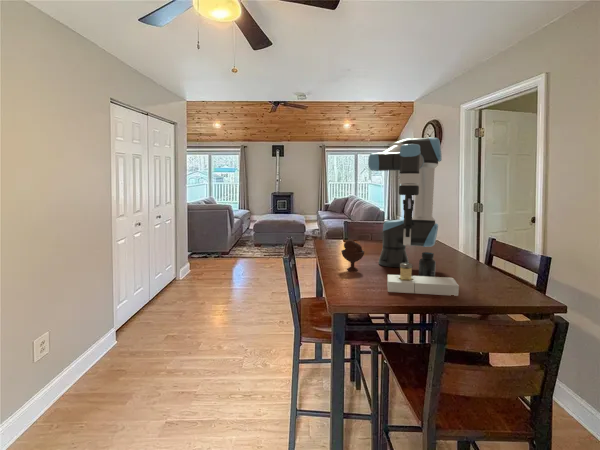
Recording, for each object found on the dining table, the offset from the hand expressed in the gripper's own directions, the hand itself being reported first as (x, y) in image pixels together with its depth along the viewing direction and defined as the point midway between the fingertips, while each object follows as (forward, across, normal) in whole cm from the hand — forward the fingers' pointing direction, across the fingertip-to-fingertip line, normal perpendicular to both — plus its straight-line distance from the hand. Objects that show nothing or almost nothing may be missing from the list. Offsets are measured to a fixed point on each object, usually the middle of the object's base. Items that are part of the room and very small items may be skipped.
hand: (406, 244), depth 149 cm
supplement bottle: (+18, -16, +10) cm, 26 cm away
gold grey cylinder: (+18, 0, 0) cm, 18 cm away
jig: (+18, 0, +6) cm, 19 cm away
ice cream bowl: (+18, -28, -23) cm, 41 cm away
